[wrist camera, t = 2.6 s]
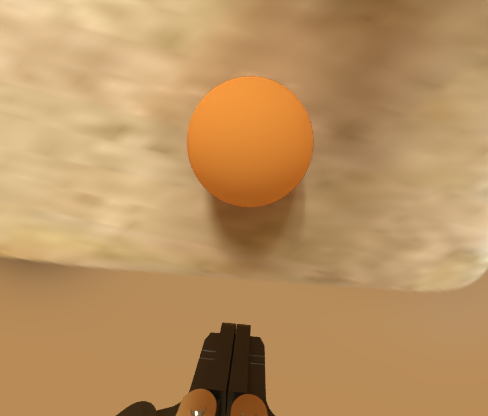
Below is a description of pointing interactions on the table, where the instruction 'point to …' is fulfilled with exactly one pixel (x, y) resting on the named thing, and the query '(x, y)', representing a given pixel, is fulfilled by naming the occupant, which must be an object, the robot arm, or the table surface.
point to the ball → (250, 141)
